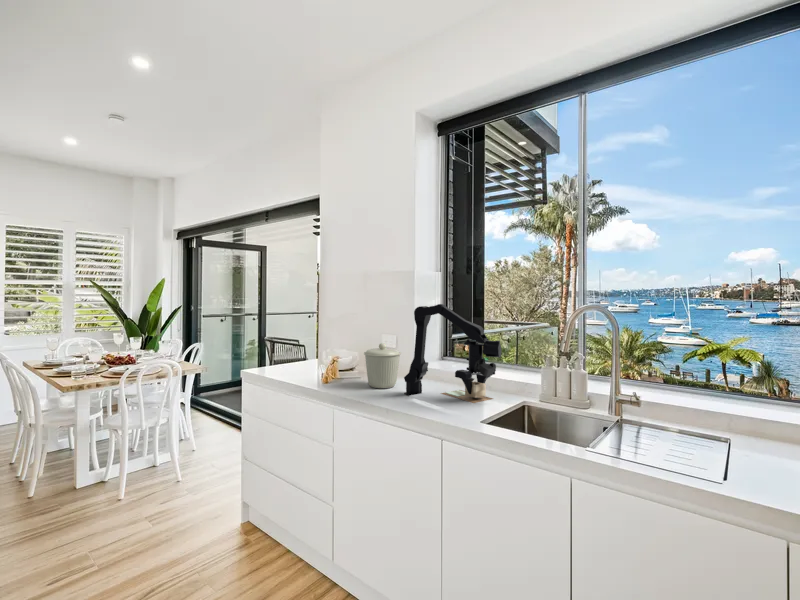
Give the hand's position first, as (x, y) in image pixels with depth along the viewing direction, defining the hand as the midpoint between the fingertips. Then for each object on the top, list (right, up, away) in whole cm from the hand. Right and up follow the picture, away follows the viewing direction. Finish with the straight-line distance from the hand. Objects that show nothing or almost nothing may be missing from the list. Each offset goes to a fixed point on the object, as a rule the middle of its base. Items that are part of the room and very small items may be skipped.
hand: (475, 392), depth 177 cm
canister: (-40, -3, +29) cm, 50 cm away
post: (0, -2, 0) cm, 2 cm away
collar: (0, -1, 0) cm, 1 cm away
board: (-3, -4, +4) cm, 6 cm away
